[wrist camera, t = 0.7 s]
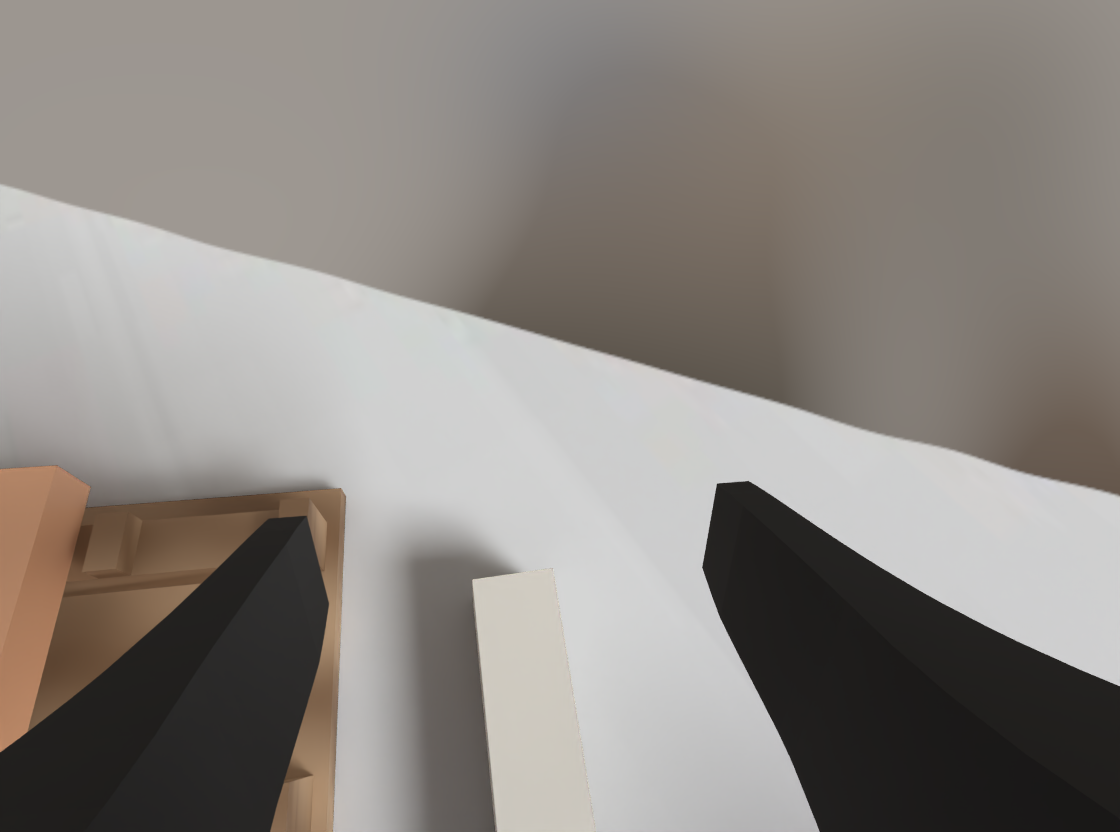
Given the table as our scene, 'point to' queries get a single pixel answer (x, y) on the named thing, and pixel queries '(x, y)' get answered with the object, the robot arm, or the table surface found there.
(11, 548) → the fired strip
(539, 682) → the pale grey bar
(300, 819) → the slotted wooden stand
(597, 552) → the table surface
